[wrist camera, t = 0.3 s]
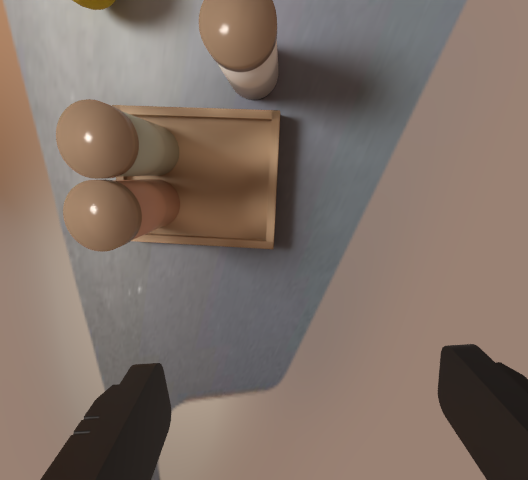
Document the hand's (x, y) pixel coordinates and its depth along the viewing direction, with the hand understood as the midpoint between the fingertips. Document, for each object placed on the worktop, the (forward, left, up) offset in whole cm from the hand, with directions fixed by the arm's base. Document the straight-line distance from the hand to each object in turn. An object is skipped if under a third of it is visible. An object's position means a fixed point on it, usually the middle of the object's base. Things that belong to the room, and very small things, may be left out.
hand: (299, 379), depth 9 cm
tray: (-5, -10, -27) cm, 29 cm away
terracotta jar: (-2, -15, -25) cm, 29 cm away
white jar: (-16, -5, -27) cm, 32 cm away
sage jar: (-8, -15, -25) cm, 30 cm away
